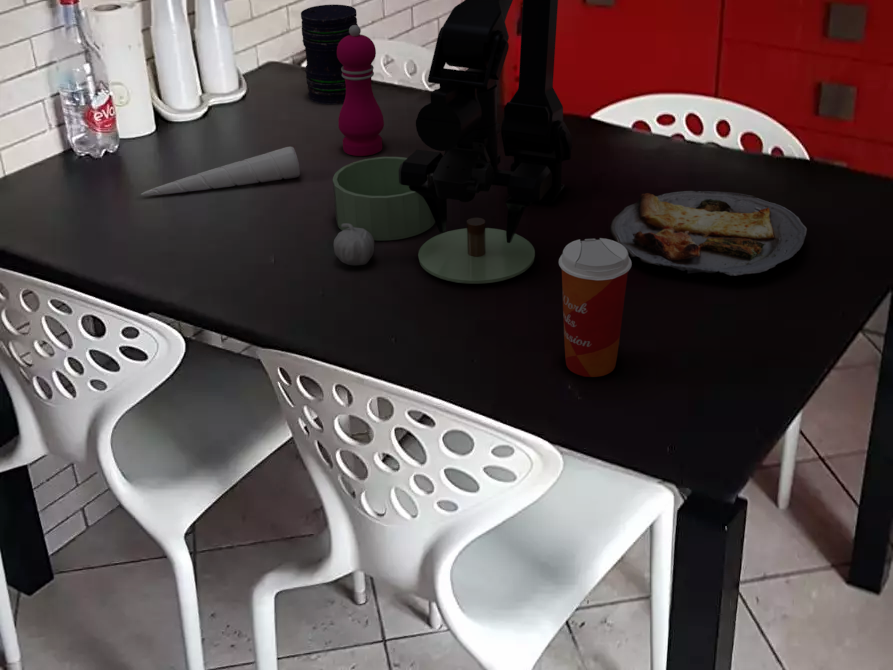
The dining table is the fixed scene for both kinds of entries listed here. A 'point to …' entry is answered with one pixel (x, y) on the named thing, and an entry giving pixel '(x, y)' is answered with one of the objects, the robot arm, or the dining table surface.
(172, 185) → the unicorn horn
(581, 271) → the paper cup
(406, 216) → the squat sage green cylinder
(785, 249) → the food plate
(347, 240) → the garlic
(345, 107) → the pepper mill
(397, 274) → the dining table surface
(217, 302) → the dining table surface
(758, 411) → the dining table surface
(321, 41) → the storage jar
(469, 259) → the lid
